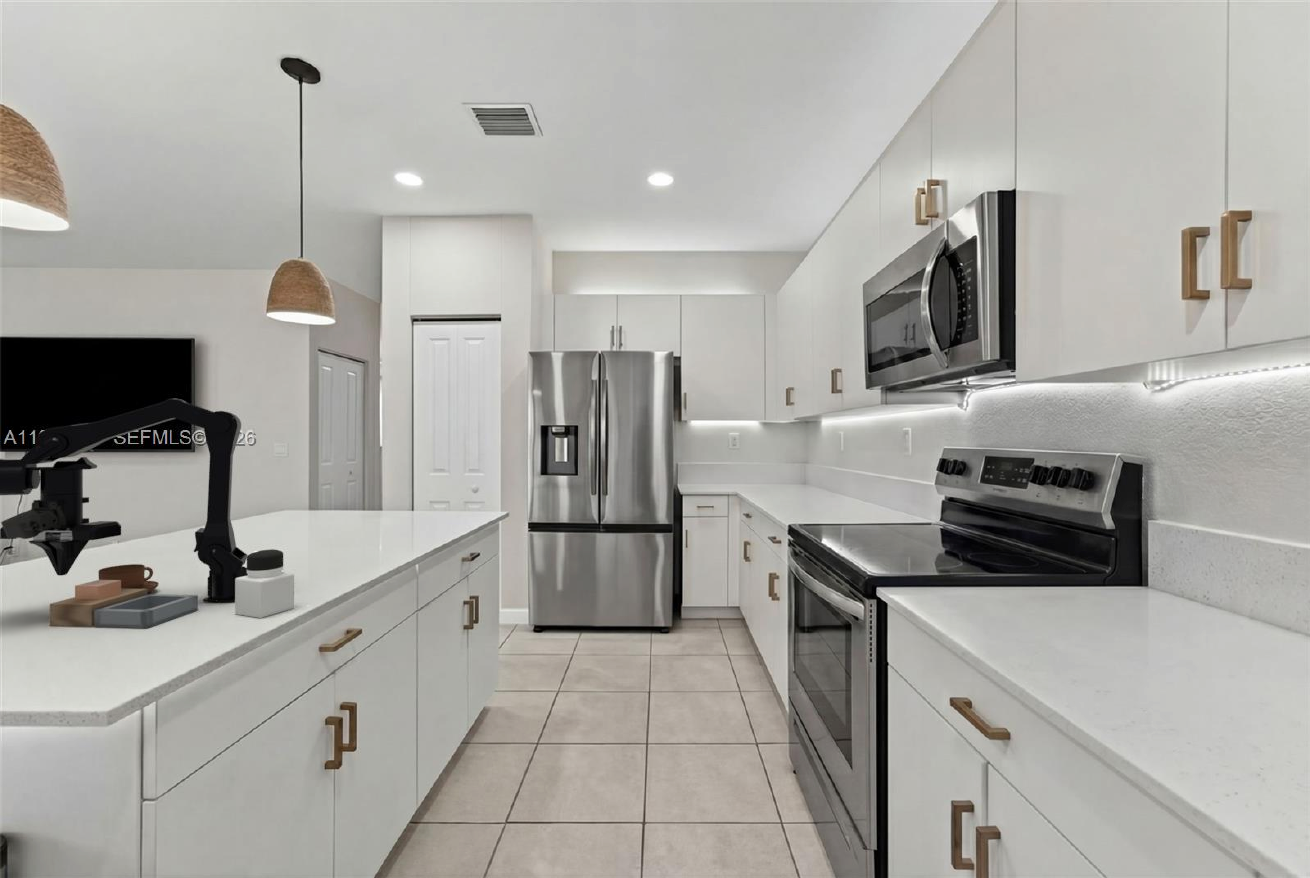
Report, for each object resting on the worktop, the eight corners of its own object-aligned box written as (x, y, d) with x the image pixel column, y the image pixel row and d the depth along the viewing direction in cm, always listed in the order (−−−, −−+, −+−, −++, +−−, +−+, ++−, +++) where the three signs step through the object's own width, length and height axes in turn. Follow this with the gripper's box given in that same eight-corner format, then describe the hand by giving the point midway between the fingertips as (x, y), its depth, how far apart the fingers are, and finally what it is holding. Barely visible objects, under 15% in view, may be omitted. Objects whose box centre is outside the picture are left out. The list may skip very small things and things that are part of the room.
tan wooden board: (147, 609, 117) (147, 589, 117) (91, 627, 106) (91, 605, 106) (109, 608, 117) (109, 588, 117) (49, 625, 106) (49, 603, 106)
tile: (121, 593, 114) (121, 580, 114) (97, 599, 109) (97, 586, 109) (99, 592, 114) (99, 579, 114) (74, 599, 109) (74, 585, 109)
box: (197, 610, 116) (197, 595, 116) (146, 628, 105) (146, 612, 105) (149, 609, 117) (149, 594, 117) (94, 627, 106) (94, 610, 106)
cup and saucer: (114, 589, 131) (114, 562, 131) (172, 588, 132) (172, 561, 132) (66, 605, 119) (66, 575, 119) (130, 604, 121) (130, 574, 121)
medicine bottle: (294, 608, 118) (295, 549, 118) (260, 618, 111) (261, 555, 111) (269, 604, 120) (269, 546, 120) (234, 614, 114) (234, 553, 114)
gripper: (-36, 497, 104) (-36, 585, 104) (63, 498, 103) (63, 587, 103) (33, 491, 115) (34, 570, 115) (123, 492, 114) (123, 572, 114)
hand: (62, 575), depth 112 cm, fingers closed
